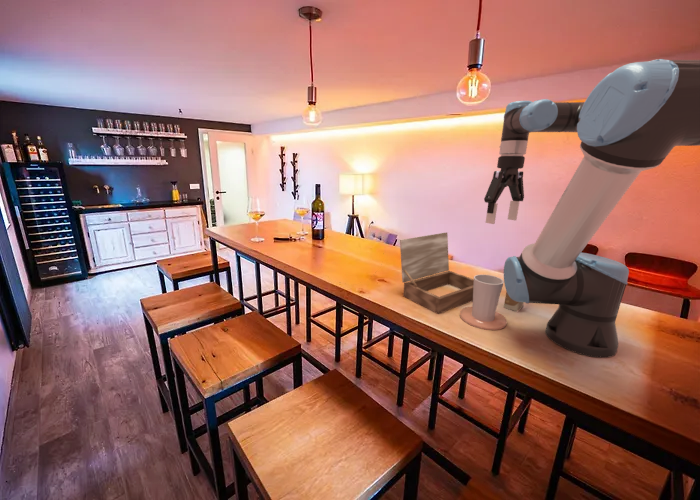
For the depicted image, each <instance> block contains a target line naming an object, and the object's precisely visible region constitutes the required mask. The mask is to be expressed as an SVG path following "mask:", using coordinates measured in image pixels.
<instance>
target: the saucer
mask: <svg viewBox="0 0 700 500" xmlns="http://www.w3.org/2000/svg"><path fill="white" fill-rule="evenodd" d="M459 317H460V319H461V320H462V321H463V322H464V323H465V324H467V325H470V326H471V327H475V328H477V329H481V330H488V331H499V330H501V329H504V328H505V327H507V323H508V320H507V318H506V317H505V316H504V315H503V314H501V313H500V312H498V311H496V312H495V318H494V320H493V321H490V322H486V321H480V320H478V319H476V318H474V317H473V316H472V306H466V307H463V308H462V309H460V312H459Z"/></svg>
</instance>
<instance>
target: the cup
mask: <svg viewBox="0 0 700 500" xmlns="http://www.w3.org/2000/svg"><path fill="white" fill-rule="evenodd" d="M473 279H474V285H473V301H472V305H471V307H472V316H473V317H474V318H476V319H478V320H480V321H486V322H490V321H493V320H494V318H495V312H497V307H498V304H499V300H500V295H501V293H502V290H503V286H504V279H503V278H501V277H498V276H496V275H491V274H484V273H483V274H476V275H474V276H473Z"/></svg>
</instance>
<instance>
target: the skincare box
mask: <svg viewBox="0 0 700 500" xmlns="http://www.w3.org/2000/svg"><path fill="white" fill-rule="evenodd" d="M505 292H506V293H505V297H504V303H503V308H504V309H507V310H510V311H513V312H518V313H519V311H520V310H522V309H521V308H523V306H524V302H516V301H514V300H512V299H511V298H510V297H509V295H508V293H507V291H505Z"/></svg>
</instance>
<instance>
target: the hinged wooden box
mask: <svg viewBox="0 0 700 500" xmlns="http://www.w3.org/2000/svg"><path fill="white" fill-rule="evenodd" d="M448 236H449V235H448V232H441V233H434V234H428V235H423V236H417V237H415V236H414V237H410V238H402V239H399V247H400V248H399V249H400V260H401V261H400V263H401V267H400V268H401V279H402V280H401V281H402V283H403V294H402V297H404V298H406V299H408V300H409V301H412V302H414V303H416V304H418V305H420V306H421V307H424V308H426V309H427V310H430V311H431V312H434V313H436V314H438V315H439V314H442V313H444V312H446V311H449V310H452V309H454V308H456V307H460V306H462V305H465V304H466V303H470V302H473V285H474V278H471V277H468V276H466V275H463V274H460V273H457V272H454V271H451V270H450V268H449V267H450V266H449V265H450V262H449V240H448V239H449V238H448ZM448 285H450V286H452V287H454V288H457V289H458V290H455V291H451V292H449V293H447V294H444V295H440V296H438V295H436V294H434V293H432V292H429V291H431V290H433V289H438V288H441V287H443V286H448Z"/></svg>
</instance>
